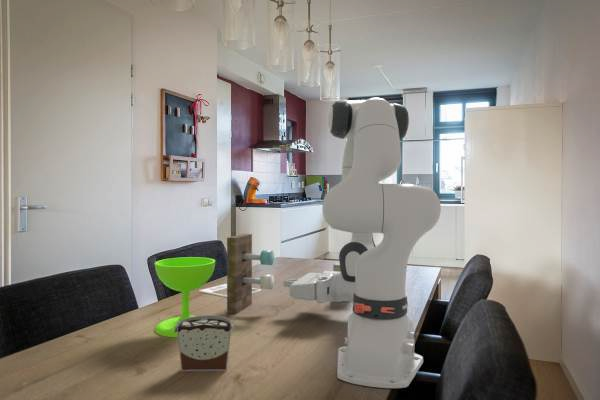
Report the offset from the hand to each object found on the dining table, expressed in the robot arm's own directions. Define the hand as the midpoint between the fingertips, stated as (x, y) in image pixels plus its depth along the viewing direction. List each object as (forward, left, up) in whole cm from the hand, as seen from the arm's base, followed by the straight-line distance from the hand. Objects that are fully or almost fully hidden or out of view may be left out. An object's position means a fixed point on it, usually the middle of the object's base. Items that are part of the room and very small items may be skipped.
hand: (284, 282), depth 134 cm
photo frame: (+20, +28, -10) cm, 36 cm away
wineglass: (-22, +21, -9) cm, 32 cm away
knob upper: (0, +11, +5) cm, 12 cm away
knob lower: (0, +11, -2) cm, 11 cm away
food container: (-43, +3, -9) cm, 44 cm away
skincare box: (+21, -14, -9) cm, 27 cm away
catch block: (0, +15, -9) cm, 17 cm away
